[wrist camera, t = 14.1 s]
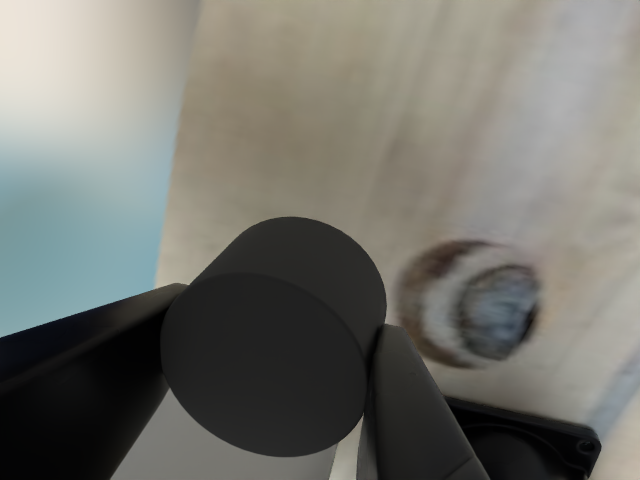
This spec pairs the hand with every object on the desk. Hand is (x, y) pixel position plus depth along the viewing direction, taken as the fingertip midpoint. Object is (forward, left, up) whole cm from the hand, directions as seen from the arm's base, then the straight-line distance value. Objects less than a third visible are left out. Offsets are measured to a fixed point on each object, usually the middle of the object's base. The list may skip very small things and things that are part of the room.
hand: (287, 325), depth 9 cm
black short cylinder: (0, 0, -1) cm, 1 cm away
